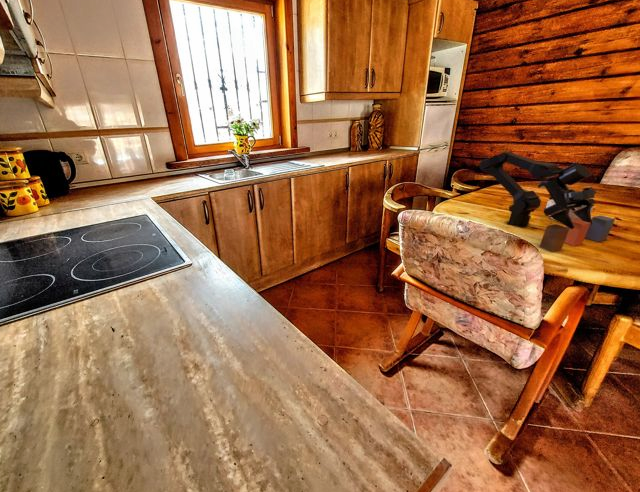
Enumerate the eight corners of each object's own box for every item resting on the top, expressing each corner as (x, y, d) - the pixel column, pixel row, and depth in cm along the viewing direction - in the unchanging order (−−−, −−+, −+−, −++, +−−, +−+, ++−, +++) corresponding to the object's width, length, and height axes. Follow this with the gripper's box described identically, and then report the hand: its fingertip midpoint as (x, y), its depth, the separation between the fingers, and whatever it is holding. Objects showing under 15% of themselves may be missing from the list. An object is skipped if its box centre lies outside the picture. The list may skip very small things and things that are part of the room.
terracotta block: (560, 241, 111) (568, 220, 107) (568, 239, 112) (576, 218, 108) (573, 246, 107) (582, 224, 103) (582, 244, 108) (590, 222, 104)
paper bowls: (551, 224, 126) (557, 207, 123) (537, 213, 139) (542, 197, 136) (594, 227, 121) (602, 210, 118) (575, 215, 134) (582, 199, 131)
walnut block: (539, 246, 108) (546, 225, 104) (548, 245, 108) (556, 224, 105) (551, 252, 104) (560, 230, 100) (561, 250, 104) (569, 228, 101)
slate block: (583, 237, 113) (592, 216, 109) (591, 235, 114) (600, 215, 110) (597, 241, 109) (607, 220, 105) (605, 240, 110) (615, 219, 106)
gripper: (562, 183, 101) (588, 221, 96) (599, 177, 105) (625, 214, 100) (533, 198, 111) (554, 233, 106) (567, 192, 115) (590, 226, 110)
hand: (581, 226), depth 105 cm, fingers open, 9 cm apart
